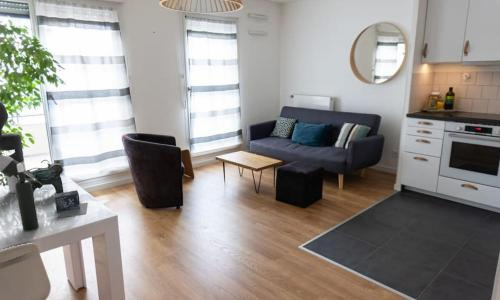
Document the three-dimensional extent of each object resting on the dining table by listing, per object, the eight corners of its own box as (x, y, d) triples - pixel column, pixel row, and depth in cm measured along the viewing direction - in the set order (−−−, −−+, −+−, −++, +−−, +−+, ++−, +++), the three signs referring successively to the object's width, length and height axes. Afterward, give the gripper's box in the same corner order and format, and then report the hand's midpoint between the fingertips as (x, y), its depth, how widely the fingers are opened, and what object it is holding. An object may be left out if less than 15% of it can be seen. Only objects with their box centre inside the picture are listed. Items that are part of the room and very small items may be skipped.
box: (54, 198, 159) (78, 193, 165) (53, 194, 164) (77, 189, 169) (56, 212, 161) (80, 207, 167) (56, 208, 166) (79, 203, 172)
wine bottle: (37, 223, 151) (26, 161, 143) (39, 228, 147) (28, 164, 139) (22, 227, 147) (10, 163, 139) (24, 232, 143) (12, 166, 135)
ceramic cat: (64, 189, 191) (59, 156, 186) (67, 192, 187) (63, 158, 182) (23, 198, 177) (17, 163, 172) (27, 202, 173) (20, 166, 168)
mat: (62, 206, 169) (62, 205, 169) (87, 202, 173) (87, 202, 173) (57, 217, 157) (57, 217, 156) (85, 213, 161) (85, 213, 161)
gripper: (8, 163, 145) (44, 185, 152) (16, 155, 157) (49, 176, 164) (-5, 175, 144) (33, 197, 152) (4, 166, 156) (38, 187, 164)
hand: (41, 186), depth 158 cm, fingers closed
